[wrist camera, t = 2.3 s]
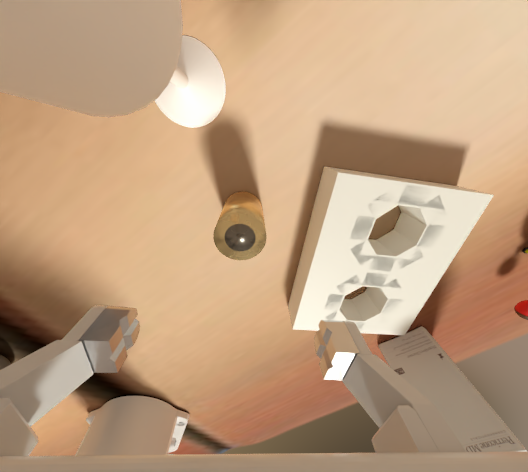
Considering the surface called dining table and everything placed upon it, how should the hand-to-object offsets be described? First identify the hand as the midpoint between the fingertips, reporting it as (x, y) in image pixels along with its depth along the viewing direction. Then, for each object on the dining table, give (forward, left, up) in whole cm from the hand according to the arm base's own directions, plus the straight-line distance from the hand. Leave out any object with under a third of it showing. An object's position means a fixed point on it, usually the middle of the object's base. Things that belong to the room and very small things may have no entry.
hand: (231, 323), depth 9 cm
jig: (-4, -16, -16) cm, 23 cm away
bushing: (0, 0, -16) cm, 16 cm away
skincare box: (-21, -30, -16) cm, 40 cm away
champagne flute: (+11, +6, -16) cm, 20 cm away
